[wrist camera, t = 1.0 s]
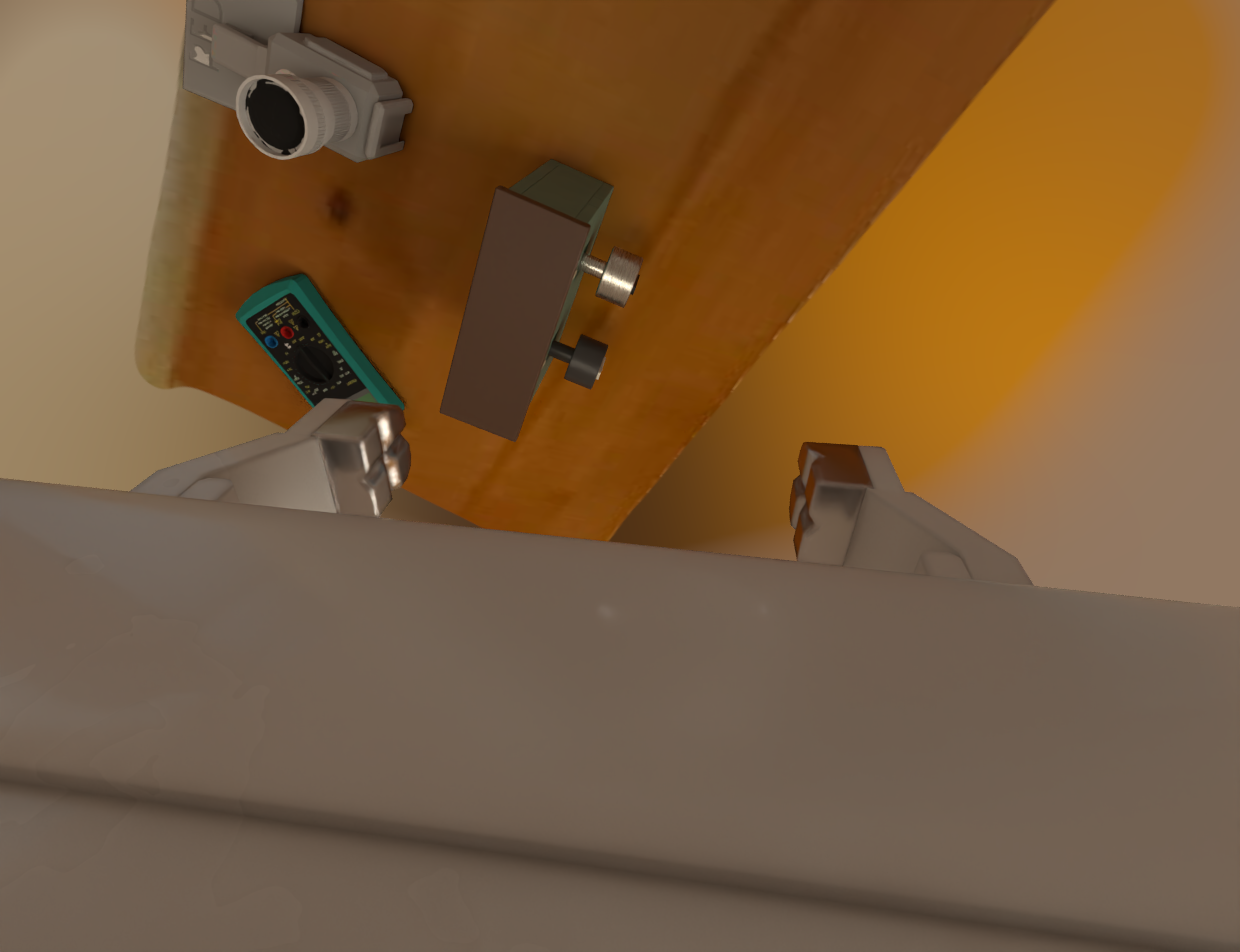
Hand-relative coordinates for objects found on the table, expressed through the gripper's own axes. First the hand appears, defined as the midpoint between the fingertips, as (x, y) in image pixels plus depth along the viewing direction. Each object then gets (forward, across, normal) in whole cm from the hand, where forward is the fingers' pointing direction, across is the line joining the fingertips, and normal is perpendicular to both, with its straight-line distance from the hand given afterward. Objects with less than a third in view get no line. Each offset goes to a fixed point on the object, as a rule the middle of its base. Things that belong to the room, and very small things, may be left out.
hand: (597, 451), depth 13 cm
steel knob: (+35, +5, +6) cm, 36 cm away
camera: (+40, +27, -5) cm, 49 cm away
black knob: (+35, +7, +12) cm, 38 cm away
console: (+40, +10, +8) cm, 42 cm away
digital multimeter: (+40, +30, +17) cm, 54 cm away
